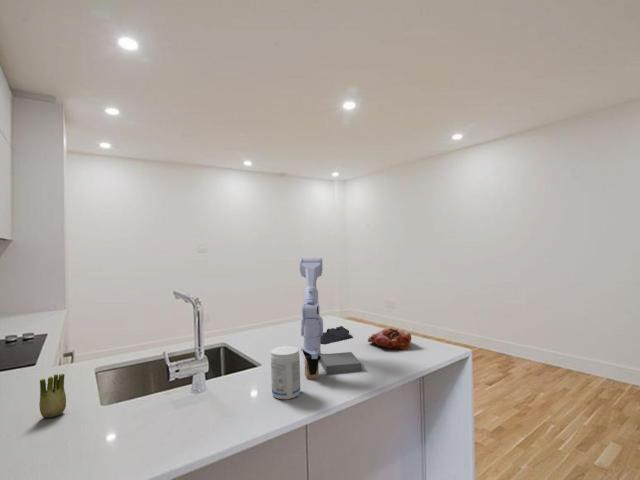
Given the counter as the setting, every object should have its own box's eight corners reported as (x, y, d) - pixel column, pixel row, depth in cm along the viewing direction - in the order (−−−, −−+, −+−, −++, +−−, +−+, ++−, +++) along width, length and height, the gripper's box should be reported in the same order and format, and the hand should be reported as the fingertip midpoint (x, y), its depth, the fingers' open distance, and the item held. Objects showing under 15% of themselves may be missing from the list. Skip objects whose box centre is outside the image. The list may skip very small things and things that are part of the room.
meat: (358, 343, 171) (358, 323, 171) (392, 337, 180) (392, 318, 180) (383, 355, 152) (382, 332, 152) (419, 348, 161) (419, 327, 161)
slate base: (319, 361, 144) (319, 354, 144) (351, 358, 147) (351, 352, 147) (326, 373, 130) (326, 366, 130) (361, 370, 133) (361, 363, 133)
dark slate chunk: (305, 339, 180) (305, 330, 180) (337, 332, 193) (337, 324, 193) (323, 346, 167) (323, 336, 167) (356, 338, 181) (355, 329, 181)
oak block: (304, 374, 130) (304, 358, 130) (316, 373, 131) (316, 357, 131) (306, 379, 125) (306, 362, 126) (318, 378, 126) (318, 361, 126)
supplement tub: (294, 385, 120) (293, 344, 120) (304, 396, 111) (304, 351, 111) (267, 391, 115) (267, 348, 116) (276, 403, 107) (276, 356, 107)
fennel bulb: (38, 421, 97) (38, 379, 98) (44, 414, 102) (44, 374, 102) (62, 417, 100) (62, 376, 100) (67, 410, 104) (67, 370, 104)
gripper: (298, 331, 135) (298, 366, 135) (303, 341, 120) (304, 380, 120) (315, 330, 136) (316, 364, 136) (322, 340, 122) (323, 378, 122)
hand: (311, 371), depth 128 cm, fingers closed on oak block, 4 cm apart
